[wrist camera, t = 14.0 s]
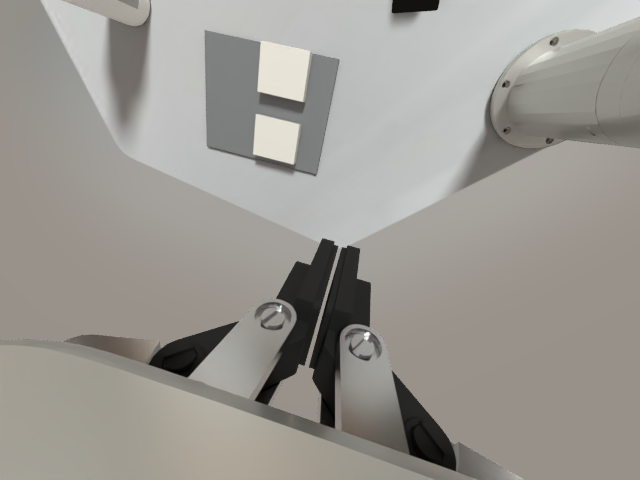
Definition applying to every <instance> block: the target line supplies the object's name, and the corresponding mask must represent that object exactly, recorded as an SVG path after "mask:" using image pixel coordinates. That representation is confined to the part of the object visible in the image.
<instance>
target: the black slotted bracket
mask: <svg viewBox="0 0 640 480" xmlns="http://www.w3.org/2000/svg"><path fill="white" fill-rule="evenodd" d="M438 5H439V0H393V3H392V13H404V12H418V11H433V10H437V9H438Z"/></svg>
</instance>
